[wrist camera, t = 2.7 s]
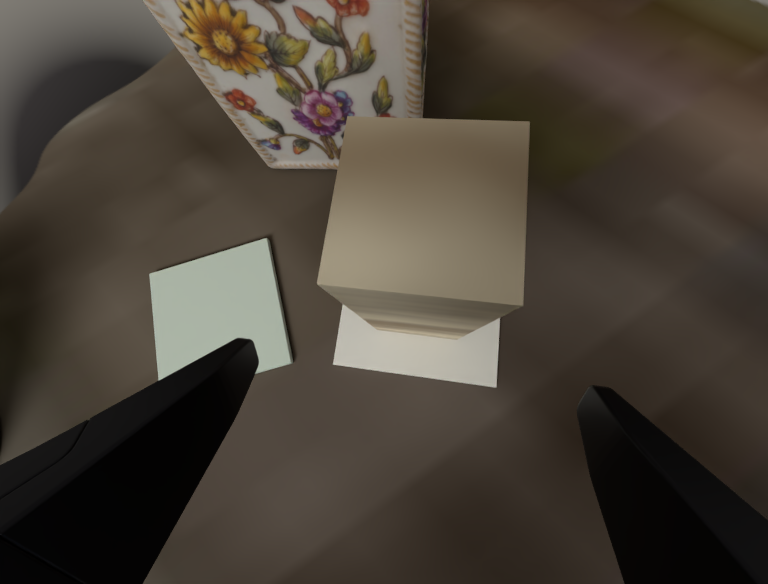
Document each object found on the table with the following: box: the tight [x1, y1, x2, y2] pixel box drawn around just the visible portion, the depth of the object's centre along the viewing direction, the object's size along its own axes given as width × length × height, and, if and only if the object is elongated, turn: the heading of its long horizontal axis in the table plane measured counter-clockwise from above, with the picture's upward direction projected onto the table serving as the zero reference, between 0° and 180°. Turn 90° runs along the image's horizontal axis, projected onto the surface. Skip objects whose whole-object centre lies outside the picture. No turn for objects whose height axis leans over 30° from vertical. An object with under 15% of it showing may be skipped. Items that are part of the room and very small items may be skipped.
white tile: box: [333, 304, 500, 387], centre depth 20 cm, size 10×10×1 cm
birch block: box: [317, 116, 530, 340], centre depth 14 cm, size 5×5×12 cm
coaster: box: [150, 238, 293, 380], centre depth 21 cm, size 9×9×1 cm
